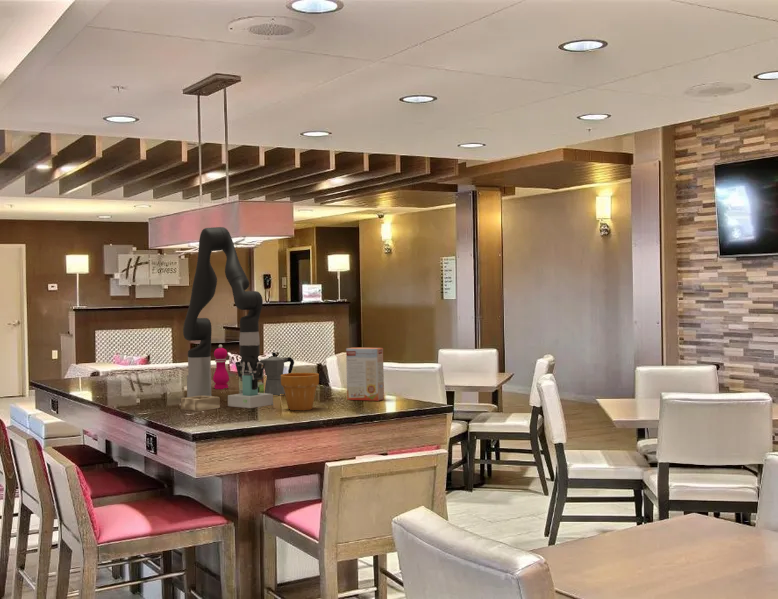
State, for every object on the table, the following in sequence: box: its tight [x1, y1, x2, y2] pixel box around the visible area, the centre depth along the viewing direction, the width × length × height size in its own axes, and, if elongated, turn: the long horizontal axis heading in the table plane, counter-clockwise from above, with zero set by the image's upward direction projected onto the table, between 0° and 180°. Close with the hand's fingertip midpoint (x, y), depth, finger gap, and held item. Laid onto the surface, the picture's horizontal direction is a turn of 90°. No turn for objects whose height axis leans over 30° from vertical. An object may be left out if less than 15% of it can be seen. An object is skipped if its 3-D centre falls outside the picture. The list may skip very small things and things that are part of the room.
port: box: [227, 393, 274, 409], centre depth 345 cm, size 12×12×5 cm
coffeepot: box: [259, 351, 295, 395], centre depth 386 cm, size 15×9×18 cm, turn 113°
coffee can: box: [238, 369, 265, 394], centre depth 370 cm, size 10×10×14 cm
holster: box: [180, 395, 221, 412], centre depth 338 cm, size 10×10×5 cm
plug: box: [242, 373, 258, 396], centre depth 345 cm, size 4×4×11 cm
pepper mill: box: [212, 344, 230, 390], centre depth 413 cm, size 7×7×20 cm
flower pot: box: [281, 372, 320, 411], centre depth 339 cm, size 14×14×13 cm
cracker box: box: [345, 347, 385, 402], centre depth 364 cm, size 14×6×21 cm, turn 65°
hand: (250, 388), depth 345 cm, fingers closed on plug, 4 cm apart
